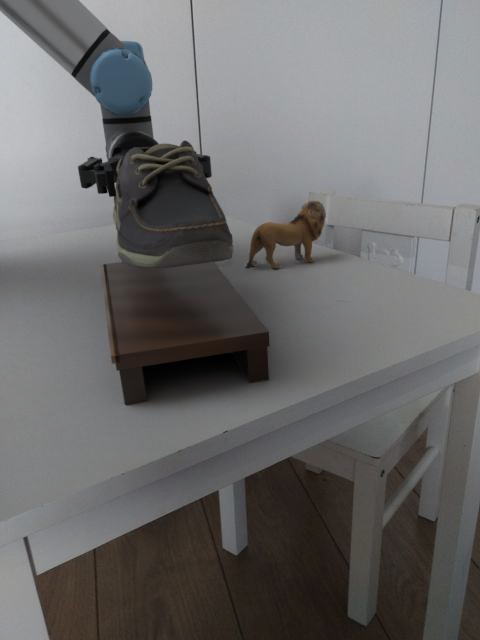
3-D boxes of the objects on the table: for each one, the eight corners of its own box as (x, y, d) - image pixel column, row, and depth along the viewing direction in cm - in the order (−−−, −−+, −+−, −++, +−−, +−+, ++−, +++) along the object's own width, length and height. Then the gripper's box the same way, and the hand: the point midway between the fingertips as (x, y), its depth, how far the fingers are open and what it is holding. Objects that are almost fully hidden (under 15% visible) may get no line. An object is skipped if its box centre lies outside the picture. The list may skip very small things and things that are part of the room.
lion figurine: (313, 251, 95) (313, 196, 91) (333, 258, 91) (334, 201, 87) (237, 268, 88) (233, 209, 85) (255, 276, 84) (252, 215, 80)
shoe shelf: (106, 300, 77) (100, 264, 75) (209, 286, 81) (206, 252, 79) (119, 406, 51) (110, 355, 49) (271, 379, 55) (269, 331, 52)
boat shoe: (143, 295, 48) (125, 161, 43) (91, 228, 72) (76, 138, 68) (263, 274, 51) (257, 149, 47) (174, 217, 76) (165, 131, 71)
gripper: (211, 179, 87) (249, 205, 67) (65, 192, 82) (59, 224, 62) (206, 126, 84) (245, 137, 64) (54, 137, 79) (45, 151, 59)
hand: (154, 180), depth 63 cm, fingers closed on boat shoe, 9 cm apart
